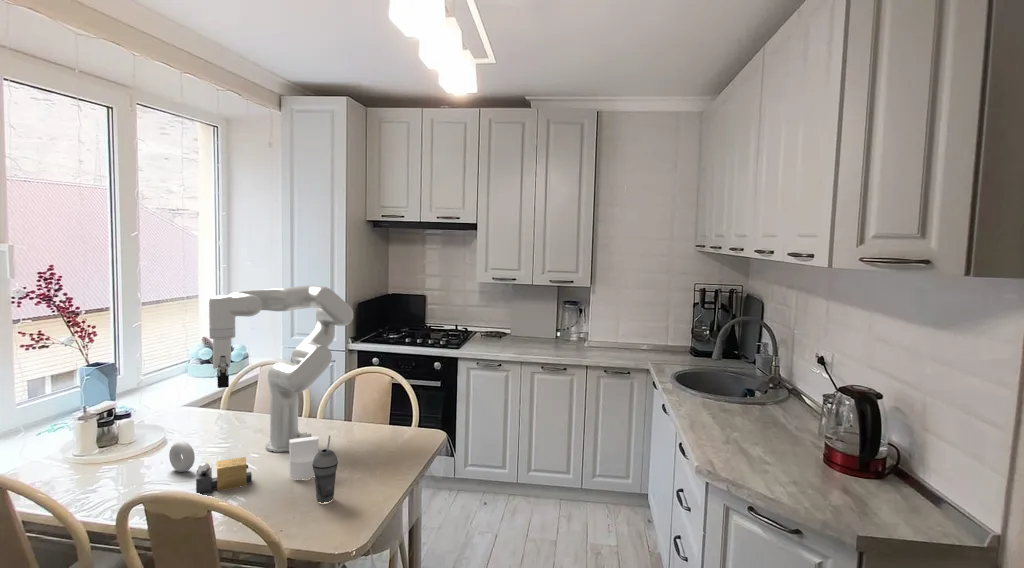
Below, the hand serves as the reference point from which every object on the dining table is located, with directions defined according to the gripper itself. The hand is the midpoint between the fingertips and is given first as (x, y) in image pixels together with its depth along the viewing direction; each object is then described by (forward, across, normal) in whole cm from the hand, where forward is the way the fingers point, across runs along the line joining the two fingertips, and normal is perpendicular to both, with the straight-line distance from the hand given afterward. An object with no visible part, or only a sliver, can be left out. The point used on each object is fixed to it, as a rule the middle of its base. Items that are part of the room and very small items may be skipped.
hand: (223, 383), depth 177 cm
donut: (+28, -1, -12) cm, 31 cm away
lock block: (+28, +16, +2) cm, 33 cm away
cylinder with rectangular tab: (+29, +18, +23) cm, 41 cm away
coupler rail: (+28, +16, 0) cm, 33 cm away
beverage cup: (+28, +39, +26) cm, 55 cm away
